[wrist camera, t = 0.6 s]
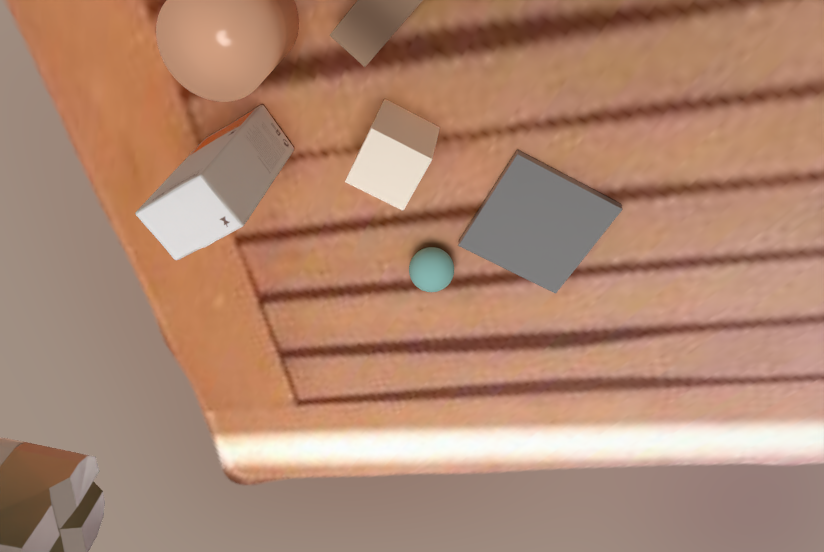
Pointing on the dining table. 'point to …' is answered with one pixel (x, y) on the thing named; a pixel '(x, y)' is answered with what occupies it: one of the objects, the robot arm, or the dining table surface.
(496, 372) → the dining table surface
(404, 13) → the walnut block
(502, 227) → the slate coaster
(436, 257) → the teal ball
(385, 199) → the cream block
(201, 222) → the skincare box
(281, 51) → the tan domed cylinder
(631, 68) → the dining table surface
